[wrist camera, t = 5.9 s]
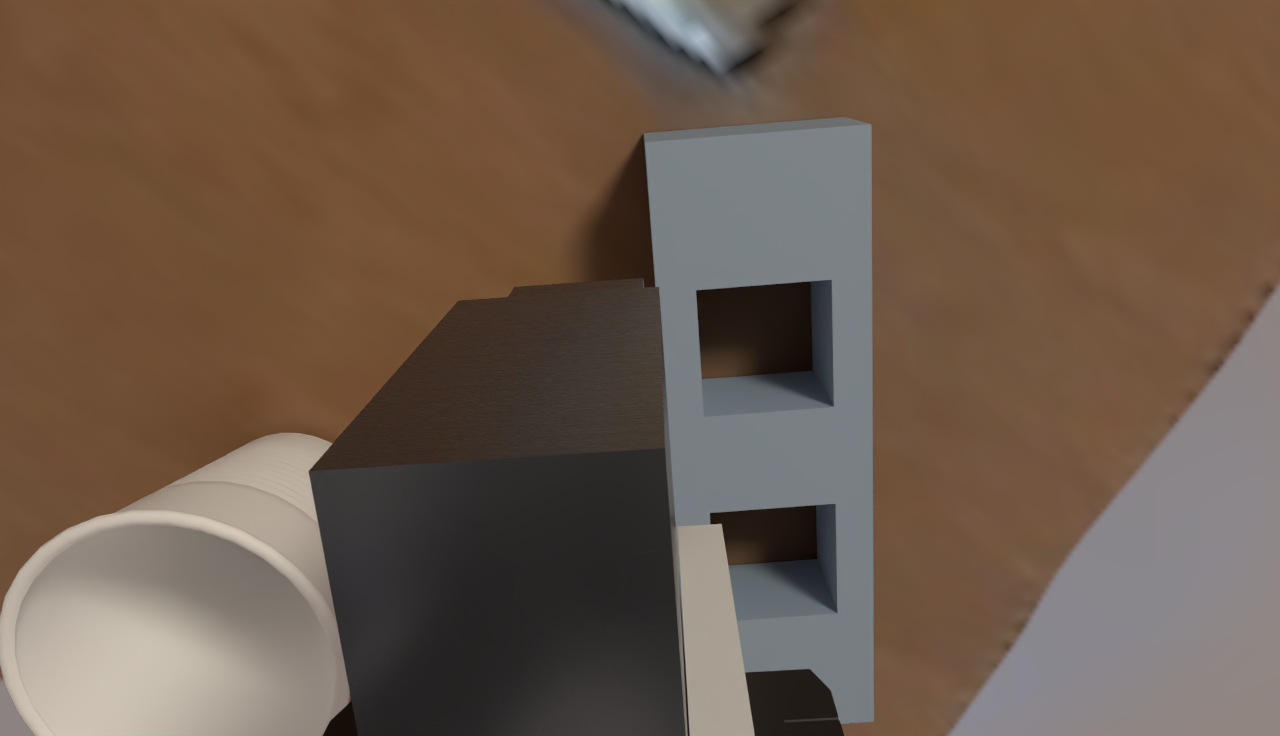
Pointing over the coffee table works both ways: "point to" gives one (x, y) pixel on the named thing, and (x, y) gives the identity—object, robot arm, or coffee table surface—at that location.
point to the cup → (184, 610)
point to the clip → (513, 525)
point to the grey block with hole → (777, 377)
